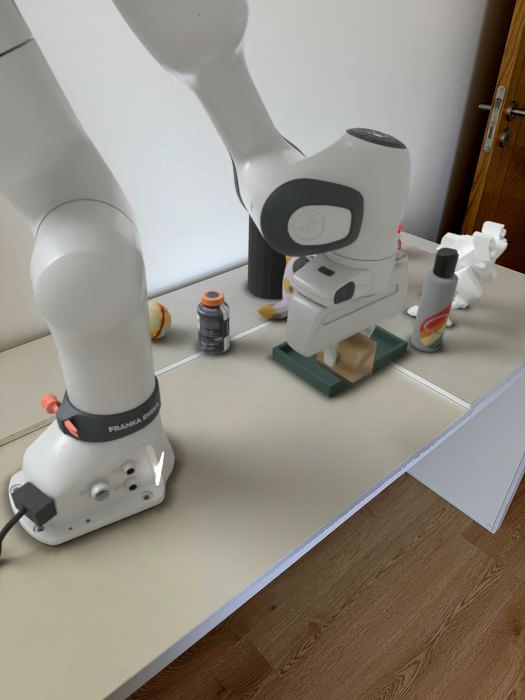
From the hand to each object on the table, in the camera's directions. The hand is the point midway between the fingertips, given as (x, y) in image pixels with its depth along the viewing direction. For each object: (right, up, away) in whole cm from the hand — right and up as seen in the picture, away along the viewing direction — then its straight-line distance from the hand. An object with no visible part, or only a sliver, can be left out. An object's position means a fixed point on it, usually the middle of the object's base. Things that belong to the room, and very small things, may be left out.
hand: (344, 356), depth 76 cm
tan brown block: (0, -2, +1) cm, 2 cm away
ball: (-33, +3, +30) cm, 44 cm away
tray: (+3, 0, +27) cm, 27 cm away
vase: (-10, +15, +47) cm, 51 cm away
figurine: (-5, +8, +38) cm, 39 cm away
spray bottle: (+21, +2, +31) cm, 37 cm away
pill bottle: (-21, +1, +28) cm, 35 cm away
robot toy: (+28, +9, +41) cm, 51 cm away
